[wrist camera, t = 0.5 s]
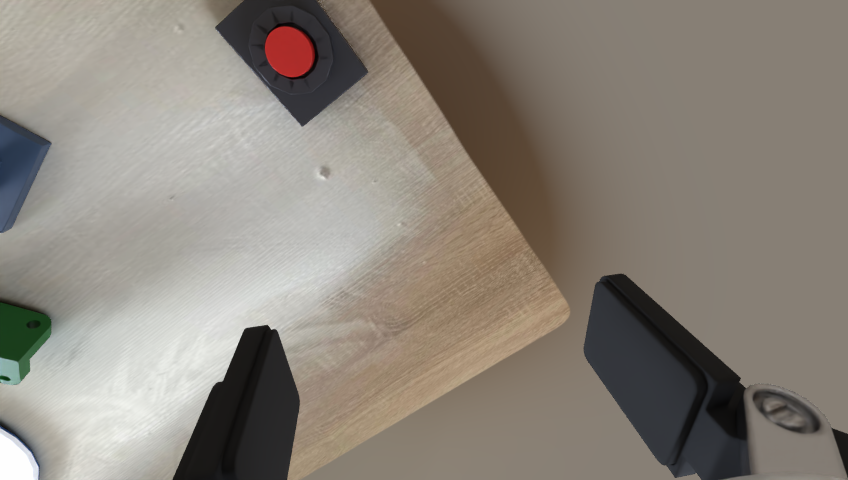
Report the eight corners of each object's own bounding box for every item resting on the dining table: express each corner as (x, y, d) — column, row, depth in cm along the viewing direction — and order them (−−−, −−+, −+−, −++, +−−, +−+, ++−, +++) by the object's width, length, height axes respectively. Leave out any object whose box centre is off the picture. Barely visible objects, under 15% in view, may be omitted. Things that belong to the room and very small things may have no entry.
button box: (223, 28, 33) (206, 27, 29) (291, -35, 31) (282, -45, 28) (305, 122, 37) (299, 131, 34) (368, 70, 36) (368, 74, 32)
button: (260, 46, 31) (254, 46, 29) (292, 16, 30) (289, 15, 29) (292, 84, 32) (288, 86, 31) (324, 57, 32) (322, 58, 30)
